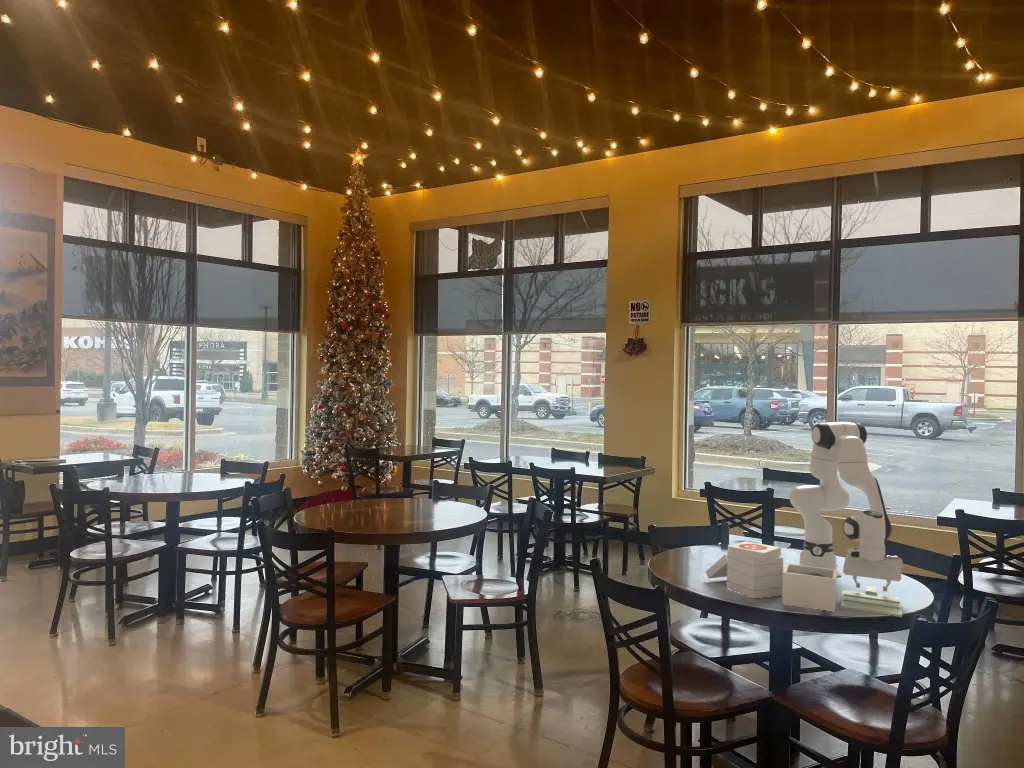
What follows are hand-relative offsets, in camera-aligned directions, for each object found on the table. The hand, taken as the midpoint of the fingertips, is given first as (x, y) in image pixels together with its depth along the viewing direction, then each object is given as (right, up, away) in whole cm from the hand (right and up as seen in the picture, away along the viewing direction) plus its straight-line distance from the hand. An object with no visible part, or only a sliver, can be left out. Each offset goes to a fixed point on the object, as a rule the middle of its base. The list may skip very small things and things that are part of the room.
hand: (871, 589), depth 274 cm
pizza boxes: (-46, -3, +12) cm, 47 cm away
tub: (-26, -3, -6) cm, 27 cm away
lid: (-3, -4, -6) cm, 8 cm away
